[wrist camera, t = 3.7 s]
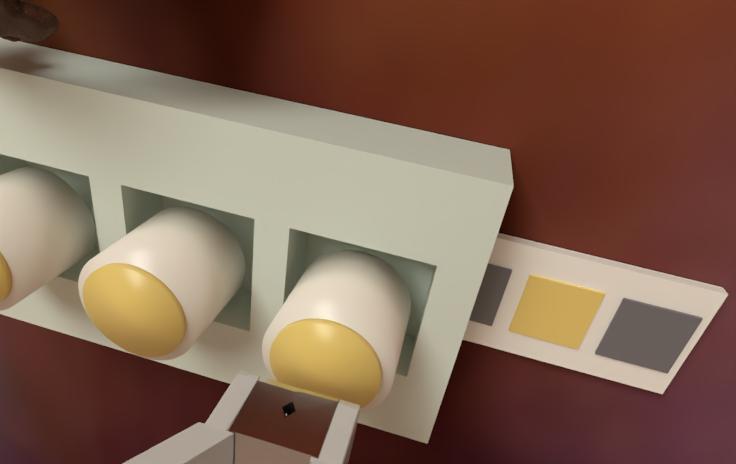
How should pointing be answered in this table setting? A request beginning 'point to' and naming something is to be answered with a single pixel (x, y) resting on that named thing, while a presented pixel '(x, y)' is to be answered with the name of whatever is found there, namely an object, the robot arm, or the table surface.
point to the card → (590, 313)
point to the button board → (260, 203)
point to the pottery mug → (25, 21)
